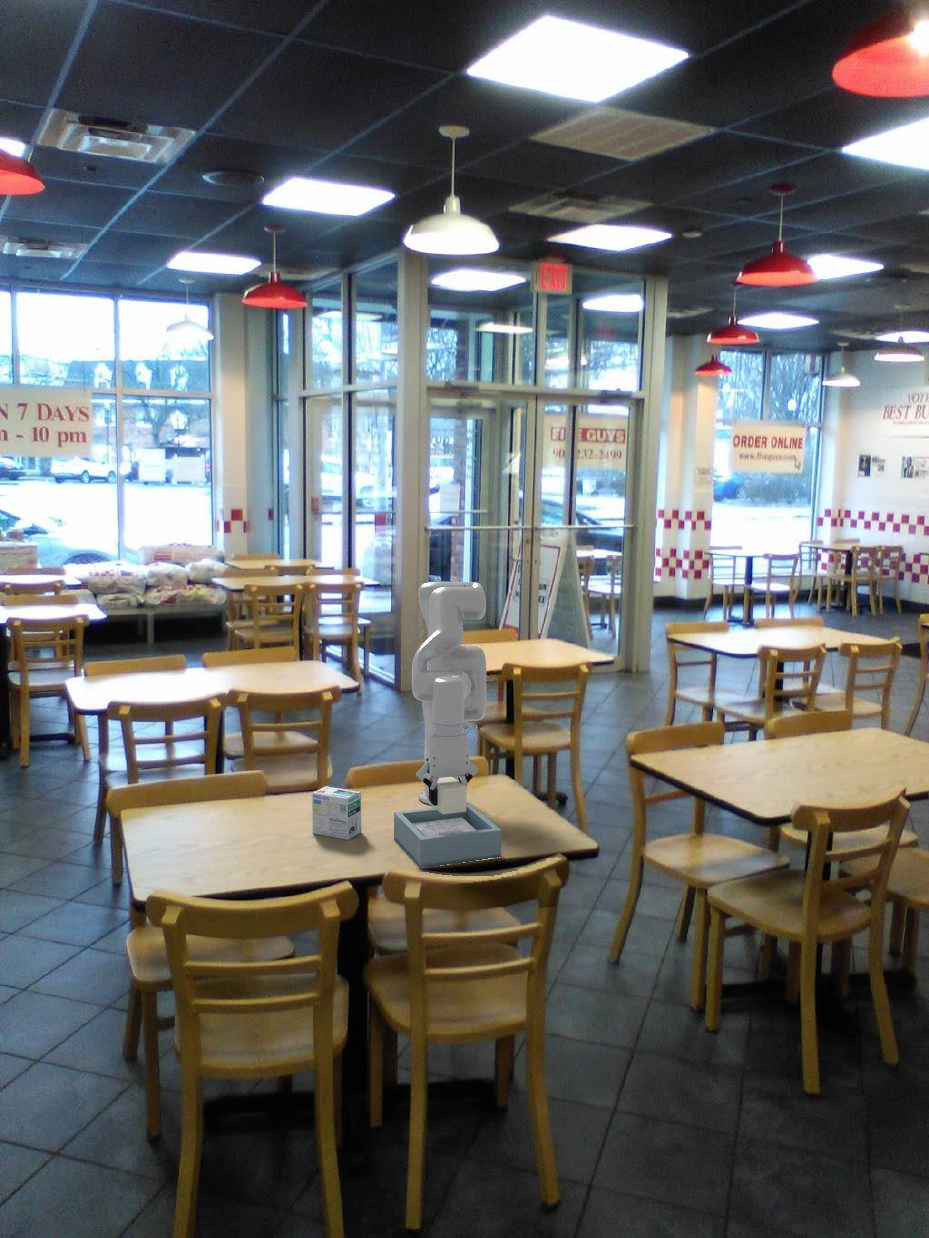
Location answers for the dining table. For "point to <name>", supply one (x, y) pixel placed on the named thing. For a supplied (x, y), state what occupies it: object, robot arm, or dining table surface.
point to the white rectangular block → (450, 796)
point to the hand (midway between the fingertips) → (446, 801)
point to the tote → (447, 838)
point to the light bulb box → (336, 812)
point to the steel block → (443, 827)
